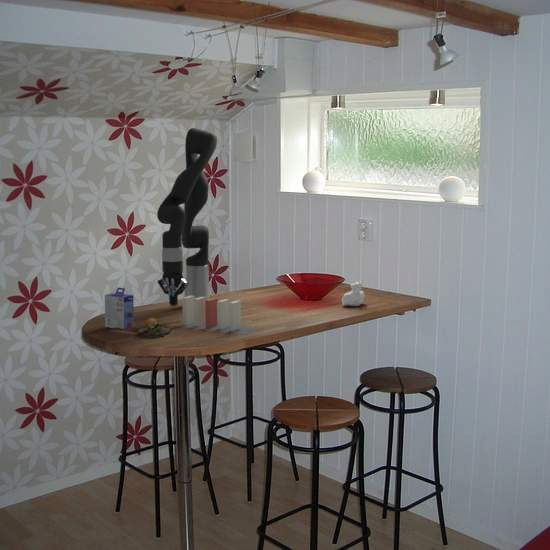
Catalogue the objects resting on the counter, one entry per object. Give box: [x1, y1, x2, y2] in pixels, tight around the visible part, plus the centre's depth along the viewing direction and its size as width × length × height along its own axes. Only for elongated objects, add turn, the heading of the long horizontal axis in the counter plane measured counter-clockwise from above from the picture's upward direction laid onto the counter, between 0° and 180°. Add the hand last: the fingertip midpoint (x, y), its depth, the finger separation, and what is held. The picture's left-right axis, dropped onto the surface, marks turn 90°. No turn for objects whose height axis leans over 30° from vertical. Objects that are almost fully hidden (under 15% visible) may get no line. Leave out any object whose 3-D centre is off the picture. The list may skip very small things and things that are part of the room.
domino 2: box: [194, 297, 206, 327], centre depth 277 cm, size 2×5×10 cm, turn 152°
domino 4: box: [229, 300, 242, 331], centre depth 270 cm, size 2×5×10 cm, turn 152°
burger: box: [136, 317, 172, 339], centre depth 266 cm, size 12×12×8 cm
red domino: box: [205, 297, 218, 328], centre depth 274 cm, size 2×5×10 cm, turn 151°
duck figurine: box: [341, 281, 366, 307], centre depth 314 cm, size 12×8×11 cm
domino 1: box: [181, 295, 195, 325], centre depth 279 cm, size 2×5×10 cm, turn 152°
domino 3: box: [217, 298, 230, 330], centre depth 272 cm, size 2×5×10 cm, turn 152°
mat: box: [176, 323, 261, 336], centre depth 274 cm, size 29×11×1 cm, turn 62°
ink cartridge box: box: [104, 287, 135, 330], centre depth 275 cm, size 10×6×14 cm, turn 58°
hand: (173, 305), depth 282 cm, fingers closed
